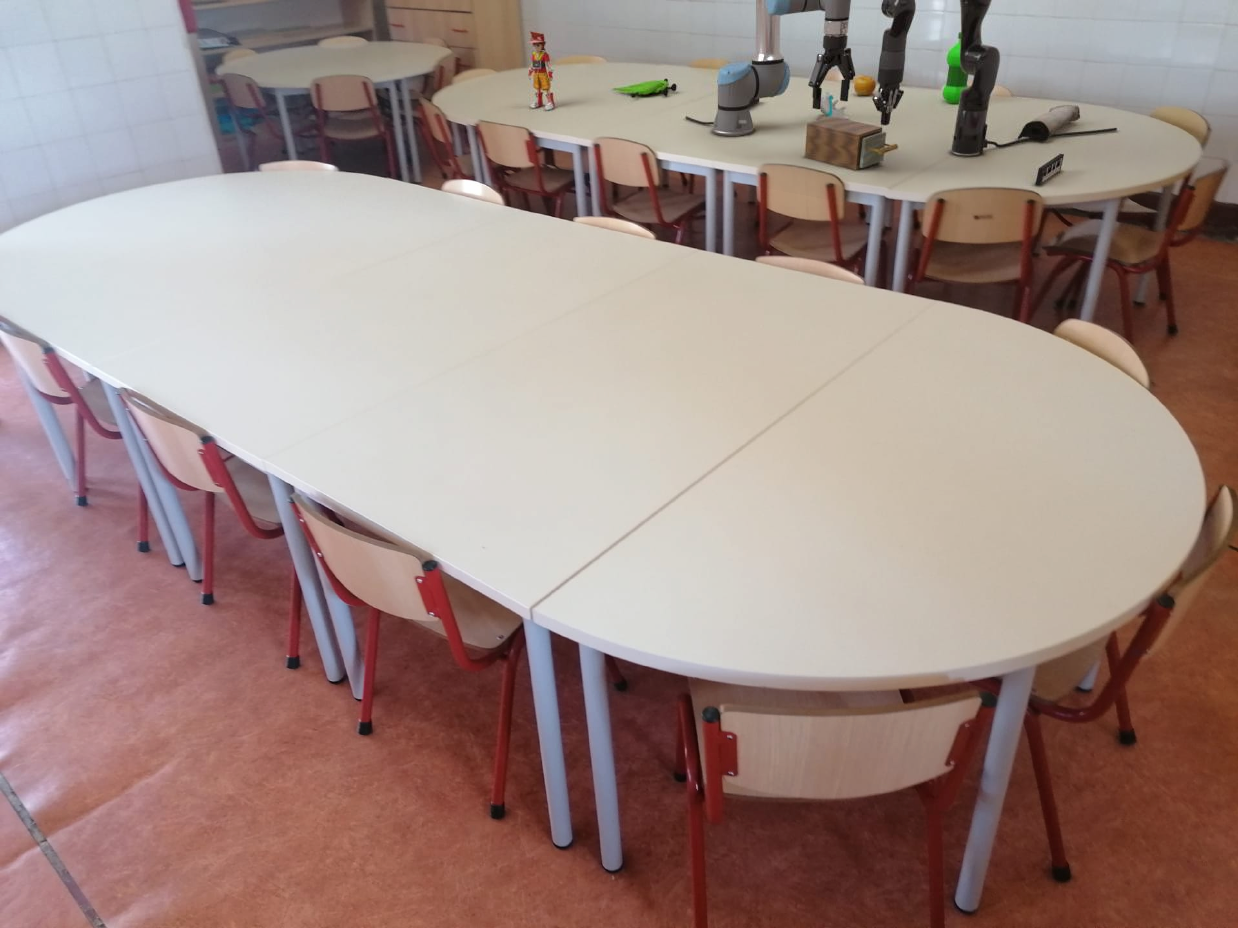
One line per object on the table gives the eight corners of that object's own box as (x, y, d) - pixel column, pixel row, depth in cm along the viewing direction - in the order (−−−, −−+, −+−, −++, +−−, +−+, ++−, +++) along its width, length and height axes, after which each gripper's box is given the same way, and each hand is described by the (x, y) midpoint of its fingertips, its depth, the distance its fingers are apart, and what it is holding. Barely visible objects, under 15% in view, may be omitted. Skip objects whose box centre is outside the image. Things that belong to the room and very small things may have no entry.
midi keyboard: (1039, 185, 269) (1043, 168, 266) (1035, 184, 270) (1038, 168, 267) (1060, 170, 279) (1064, 154, 277) (1056, 169, 280) (1060, 153, 277)
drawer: (898, 164, 290) (901, 135, 285) (877, 171, 285) (880, 142, 280) (834, 149, 308) (836, 121, 303) (814, 155, 303) (816, 127, 298)
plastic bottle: (973, 101, 354) (984, 32, 339) (955, 106, 349) (966, 36, 335) (952, 97, 361) (962, 29, 346) (934, 102, 356) (944, 33, 342)
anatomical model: (812, 91, 345) (837, 84, 345) (815, 118, 351) (840, 111, 351) (822, 101, 333) (849, 93, 332) (825, 128, 339) (851, 121, 338)
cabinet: (878, 162, 297) (882, 127, 290) (855, 170, 291) (859, 134, 284) (827, 149, 311) (830, 116, 305) (804, 157, 305) (806, 123, 299)
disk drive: (744, 111, 360) (759, 102, 370) (744, 104, 358) (760, 95, 368) (721, 109, 365) (737, 100, 375) (721, 102, 363) (737, 93, 373)
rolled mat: (1047, 110, 326) (1071, 92, 318) (1060, 131, 326) (1086, 114, 318) (1013, 133, 309) (1038, 115, 301) (1028, 155, 309) (1053, 137, 301)
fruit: (849, 87, 368) (861, 69, 365) (851, 91, 376) (863, 73, 373) (866, 98, 367) (878, 80, 364) (868, 102, 375) (880, 84, 372)
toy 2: (686, 85, 398) (631, 84, 414) (685, 72, 395) (629, 72, 411) (651, 104, 381) (596, 103, 397) (650, 92, 378) (594, 91, 394)
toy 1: (525, 109, 381) (517, 32, 364) (534, 104, 388) (527, 28, 371) (550, 110, 377) (543, 32, 360) (559, 105, 384) (553, 28, 367)
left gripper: (818, 42, 275) (813, 114, 287) (870, 30, 287) (863, 99, 299) (799, 39, 280) (795, 110, 292) (852, 27, 292) (846, 96, 304)
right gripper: (887, 71, 267) (881, 131, 277) (915, 63, 273) (907, 122, 283) (867, 68, 272) (861, 127, 282) (895, 60, 278) (888, 118, 288)
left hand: (830, 105), depth 296 cm, fingers open, 13 cm apart
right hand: (884, 124), depth 282 cm, fingers closed
